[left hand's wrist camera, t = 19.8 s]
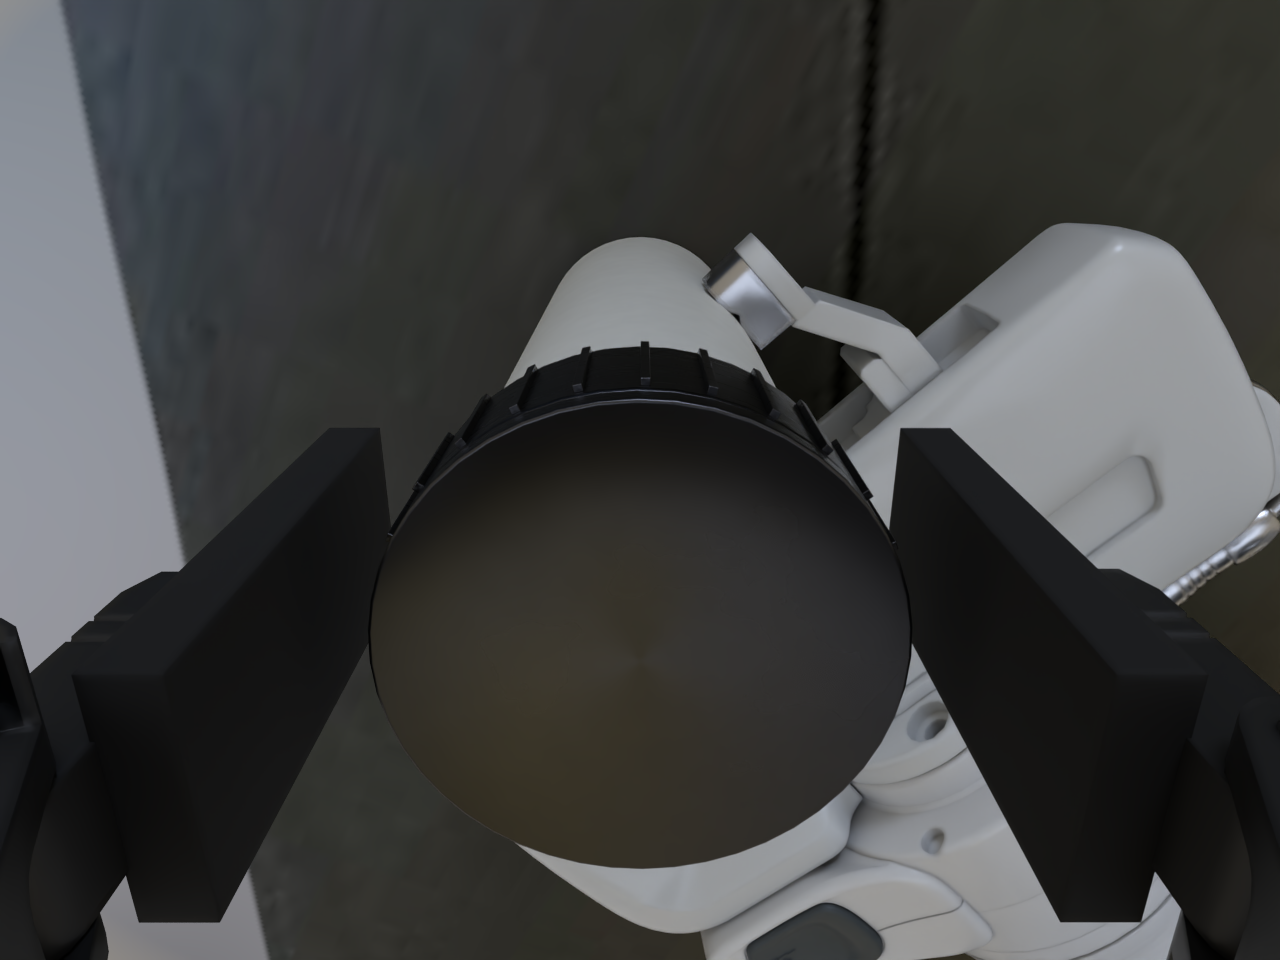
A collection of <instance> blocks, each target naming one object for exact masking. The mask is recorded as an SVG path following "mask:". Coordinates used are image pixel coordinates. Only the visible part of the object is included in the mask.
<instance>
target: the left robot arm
mask: <svg viewBox="0 0 1280 960" xmlns="http://www.w3.org/2000/svg"><path fill="white" fill-rule="evenodd" d="M390 529H391V525H390V516H389V507H388V498H387V489H386V480H385V471H384V462H383V453H382V444H381V436H380V428H329V429H328V430H327V431H326V432H325V433H324V434H323V435H322V436H321V437H320V438H318V439H317V440H316V441H315V442H314V443H313V444H312V445H311V446H310V447H309V448H308V449H307V450H306V451H305V452H304V453H303V454H302V455H301V456H300V457H299V458H298V459H296V460H295V461H294V462H293V463H292V464H291V465H290V466H289V467H288V468H287V469H286V470H285V471H284V472H283V473H282V474H281V475H280V476H279V477H278V478H277V479H276V480H274V481H273V482H272V483H271V484H270V485H269V486H268V487H267V488H266V489H265V490H264V491H263V492H262V493H261V494H260V495H259V496H258V497H257V498H256V499H255V500H254V501H252V502H251V503H250V504H249V505H248V506H247V507H246V508H245V509H244V510H243V511H242V512H241V513H240V514H239V515H238V516H237V517H236V518H235V519H234V520H233V521H232V522H230V523H229V524H228V525H227V526H226V527H225V528H224V529H223V530H222V531H221V532H220V533H219V534H218V535H217V536H216V537H215V538H214V539H213V540H212V541H211V542H209V543H208V544H207V545H206V546H205V547H204V548H203V549H202V550H201V551H200V552H199V553H198V554H197V555H196V556H195V557H194V558H193V559H192V560H191V561H190V562H189V563H187V564H186V565H185V566H184V567H183V568H182V569H181V570H180V571H179V572H160V573H158V574H156V575H154V576H152V577H150V578H148V579H146V580H144V581H142V582H140V583H138V584H137V585H135V586H133V587H131V588H129V589H127V590H125V591H123V592H121V593H120V594H119V595H118V596H117V597H115V598H114V599H113V600H112V601H111V602H110V603H109V604H108V605H106V606H105V607H104V608H103V609H102V610H101V611H100V612H99V613H97V614H96V615H95V616H94V621H89V622H87V623H86V624H85V625H84V626H83V627H82V628H81V629H79V630H78V631H77V632H76V633H75V634H74V635H73V636H72V639H71V642H65V643H64V644H63V645H61V646H60V647H59V648H58V649H57V650H56V651H55V652H54V653H52V654H51V655H50V656H49V657H48V658H47V659H46V660H45V661H43V662H42V663H41V664H40V665H39V666H38V667H37V668H35V669H34V670H33V671H32V672H31V673H29V669H28V666H27V663H26V659H25V656H24V652H23V649H22V645H21V642H20V639H19V635H18V632H17V628H16V626H14V625H12V624H11V623H9V622H7V621H5V620H4V619H2V618H0V960H107V959H108V952H109V951H108V944H107V937H106V932H105V928H104V925H103V922H102V918H101V915H100V912H101V910H102V909H103V907H104V906H105V904H106V903H107V902H108V900H109V899H110V897H111V896H112V894H113V893H114V892H115V890H116V889H117V887H118V886H119V884H120V883H121V881H122V880H123V878H124V877H125V876H126V877H127V881H128V884H129V888H130V892H131V896H132V899H133V903H134V906H135V910H136V914H137V917H138V921H139V922H220V921H221V919H222V917H223V915H224V914H225V912H226V910H227V908H228V906H229V904H230V902H231V900H232V898H233V897H234V895H235V893H236V891H237V889H238V887H239V885H240V883H241V882H242V880H243V878H244V876H245V874H246V872H247V870H248V868H249V867H250V865H251V863H252V861H253V859H254V857H255V855H256V853H257V851H258V850H259V848H260V846H261V844H262V842H263V840H264V838H265V836H266V835H267V833H268V831H269V829H270V827H271V825H272V823H273V821H274V819H275V818H276V816H277V814H278V812H279V810H280V808H281V806H282V804H283V803H284V801H285V799H286V797H287V795H288V793H289V791H290V789H291V787H292V786H293V784H294V782H295V780H296V778H297V776H298V774H299V772H300V771H301V769H302V767H303V765H304V763H305V761H306V759H307V757H308V755H309V754H310V752H311V750H312V748H313V746H314V744H315V742H316V740H317V739H318V737H319V735H320V733H321V731H322V729H323V727H324V725H325V723H326V722H327V720H328V718H329V716H330V714H331V712H332V710H333V708H334V707H335V705H336V703H337V701H338V699H339V697H340V695H341V693H342V692H343V690H344V688H345V686H346V684H347V682H348V680H349V678H350V676H351V675H352V673H353V671H354V669H355V667H356V665H357V663H358V661H359V660H360V658H361V656H362V654H363V652H364V650H365V648H366V646H367V644H368V643H369V641H368V623H369V612H370V600H371V596H372V592H373V588H374V583H375V579H376V575H377V571H378V568H379V565H380V563H381V561H382V558H383V556H384V553H385V551H386V548H387V546H388V544H389V542H386V541H385V539H386V536H387V534H388V532H389V531H390ZM889 531H890V533H891V534H892V536H893V538H894V539H895V541H896V543H897V546H898V550H895V552H896V554H897V556H898V558H899V561H900V563H901V566H902V570H903V574H904V577H905V581H906V585H907V588H908V592H909V597H910V606H911V615H912V624H913V630H912V644H913V646H914V648H915V650H916V652H917V654H918V656H919V658H920V660H921V661H922V663H923V665H924V667H925V669H926V671H927V673H928V675H929V676H930V678H931V680H932V682H933V684H934V686H935V688H936V690H937V692H938V693H939V695H940V697H941V699H942V701H943V703H944V705H945V707H946V708H947V710H948V712H949V714H950V716H951V718H952V720H953V722H954V723H955V725H956V727H957V729H958V731H959V733H960V735H961V737H962V739H963V740H964V742H965V744H966V746H967V748H968V750H969V752H970V754H971V755H972V757H973V759H974V761H975V763H976V765H977V767H978V769H979V771H980V772H981V774H982V776H983V778H984V780H985V782H986V784H987V786H988V787H989V789H990V791H991V793H992V795H993V797H994V799H995V801H996V803H997V804H998V806H999V808H1000V810H1001V812H1002V814H1003V816H1004V818H1005V819H1006V821H1007V823H1008V825H1009V827H1010V829H1011V831H1012V833H1013V835H1014V836H1015V838H1016V840H1017V842H1018V844H1019V846H1020V848H1021V850H1022V851H1023V853H1024V855H1025V857H1026V859H1027V861H1028V863H1029V865H1030V867H1031V868H1032V870H1033V872H1034V874H1035V876H1036V878H1037V880H1038V882H1039V883H1040V885H1041V887H1042V889H1043V891H1044V893H1045V895H1046V897H1047V898H1048V900H1049V902H1050V904H1051V906H1052V908H1053V910H1054V912H1055V914H1056V915H1057V917H1058V919H1059V921H1060V922H1141V921H1142V917H1143V914H1144V910H1145V906H1146V903H1147V899H1148V896H1149V892H1150V888H1151V885H1152V881H1153V877H1154V874H1155V872H1156V874H1157V875H1158V877H1159V878H1160V879H1161V881H1162V882H1163V884H1164V885H1165V887H1166V888H1167V889H1168V891H1169V892H1170V894H1171V895H1172V897H1173V898H1174V900H1175V901H1176V902H1177V904H1178V905H1179V907H1180V908H1181V911H1180V915H1179V918H1178V922H1177V925H1176V928H1175V932H1174V935H1173V939H1172V942H1171V945H1170V949H1169V952H1168V956H1167V959H1166V960H1280V695H1279V694H1278V693H1277V692H1276V691H1275V690H1273V689H1272V688H1271V687H1270V686H1269V685H1268V684H1267V683H1265V682H1264V681H1263V680H1262V679H1261V678H1260V677H1259V676H1258V675H1256V674H1255V673H1254V672H1253V671H1252V670H1251V669H1250V668H1248V667H1247V666H1246V665H1245V664H1244V663H1243V662H1242V661H1241V660H1239V659H1238V658H1237V657H1236V656H1235V655H1234V654H1233V653H1231V652H1230V651H1229V650H1228V649H1227V648H1226V647H1225V646H1223V645H1222V644H1221V643H1220V642H1219V641H1218V640H1217V639H1216V638H1210V636H1209V632H1208V631H1206V630H1205V629H1204V628H1203V627H1202V626H1201V625H1200V624H1198V623H1197V622H1196V621H1195V620H1194V619H1193V618H1187V613H1186V612H1185V611H1184V610H1183V609H1181V608H1180V607H1179V606H1178V605H1177V604H1176V603H1175V602H1174V601H1172V600H1171V599H1170V598H1169V597H1168V596H1167V595H1166V594H1164V593H1163V592H1162V591H1161V590H1160V589H1158V588H1156V587H1154V586H1152V585H1150V584H1148V583H1146V582H1144V581H1142V580H1140V579H1139V578H1137V577H1135V576H1133V575H1131V574H1129V573H1127V572H1125V571H1123V570H1121V569H1098V568H1097V567H1096V566H1095V565H1094V564H1093V563H1091V562H1090V561H1089V560H1088V559H1087V558H1086V557H1085V556H1084V555H1083V554H1082V553H1081V552H1080V551H1079V550H1078V549H1077V548H1076V547H1075V546H1074V545H1073V544H1072V543H1071V542H1069V541H1068V540H1067V539H1066V538H1065V537H1064V536H1063V535H1062V534H1061V533H1060V532H1059V531H1058V530H1057V529H1056V528H1055V527H1054V526H1053V525H1052V524H1051V523H1050V522H1048V521H1047V520H1046V519H1045V518H1044V517H1043V516H1042V515H1041V514H1040V513H1039V512H1038V511H1037V510H1036V509H1035V508H1034V507H1033V506H1032V505H1031V504H1030V503H1029V502H1028V501H1026V500H1025V499H1024V498H1023V497H1022V496H1021V495H1020V494H1019V493H1018V492H1017V491H1016V490H1015V489H1014V488H1013V487H1012V486H1011V485H1010V484H1009V483H1008V482H1007V481H1006V480H1004V479H1003V478H1002V477H1001V476H1000V475H999V474H998V473H997V472H996V471H995V470H994V469H993V468H992V467H991V466H990V465H989V464H988V463H987V462H986V461H985V460H984V459H982V458H981V457H980V456H979V455H978V454H977V453H976V452H975V451H974V450H973V449H972V448H971V447H970V446H969V445H968V444H967V443H966V442H965V441H964V440H963V439H962V438H960V437H959V436H958V435H957V434H956V433H955V432H954V431H953V430H952V429H951V428H900V436H899V445H898V453H897V462H896V471H895V480H894V489H893V498H892V507H891V516H890V525H889Z"/></svg>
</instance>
